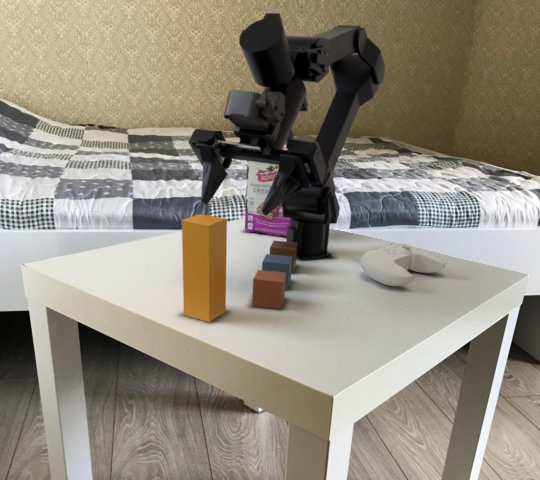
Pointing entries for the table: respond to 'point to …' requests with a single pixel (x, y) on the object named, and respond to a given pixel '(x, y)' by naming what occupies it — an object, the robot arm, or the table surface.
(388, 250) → the game controller
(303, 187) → the robot arm
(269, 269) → the cube
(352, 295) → the table surface
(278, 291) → the cube
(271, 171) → the candy bar box
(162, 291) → the table surface
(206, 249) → the tall block
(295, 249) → the cube
